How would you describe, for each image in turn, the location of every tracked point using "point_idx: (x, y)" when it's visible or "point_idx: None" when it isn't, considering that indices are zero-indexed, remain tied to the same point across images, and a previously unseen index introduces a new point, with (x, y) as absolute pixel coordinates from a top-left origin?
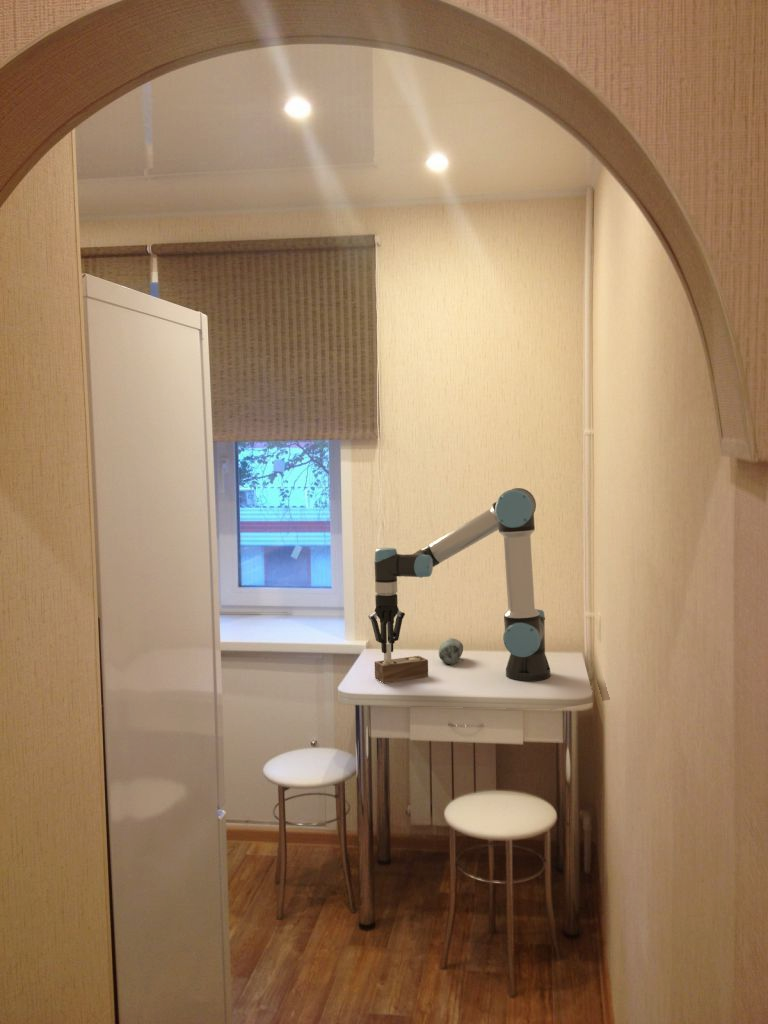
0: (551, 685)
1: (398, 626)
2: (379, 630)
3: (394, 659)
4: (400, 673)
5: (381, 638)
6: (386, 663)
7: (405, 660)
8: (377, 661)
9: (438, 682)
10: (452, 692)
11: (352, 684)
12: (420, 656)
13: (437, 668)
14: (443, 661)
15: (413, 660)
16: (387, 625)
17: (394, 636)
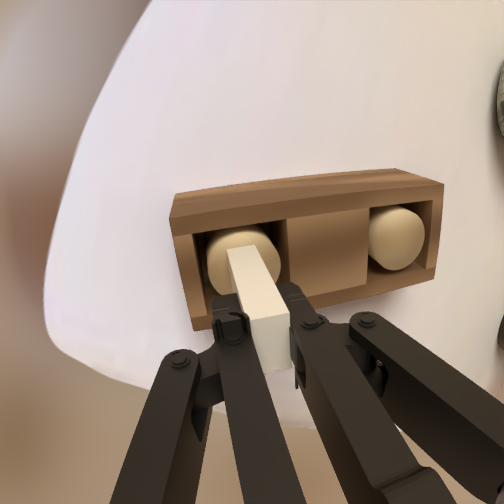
0: (498, 372)
1: (430, 446)
2: (195, 497)
3: (308, 210)
4: None
5: (209, 424)
6: (228, 287)
7: (351, 258)
8: (188, 221)
9: None
10: None
11: (63, 253)
12: (442, 204)
13: (462, 146)
14: (497, 102)
15: (384, 267)
16: (354, 458)
17: (368, 349)
